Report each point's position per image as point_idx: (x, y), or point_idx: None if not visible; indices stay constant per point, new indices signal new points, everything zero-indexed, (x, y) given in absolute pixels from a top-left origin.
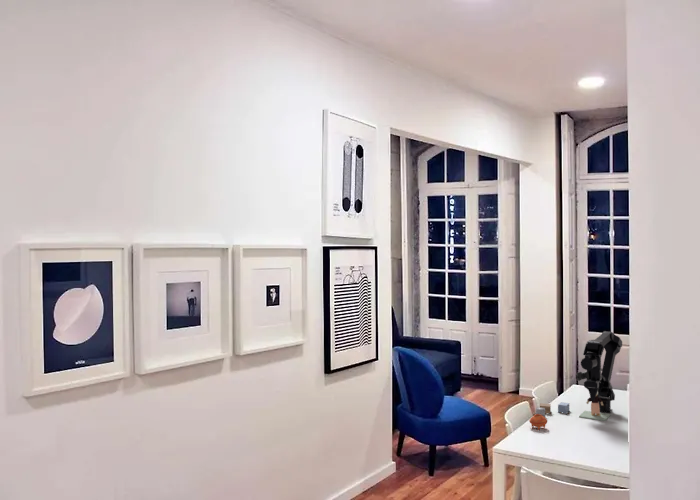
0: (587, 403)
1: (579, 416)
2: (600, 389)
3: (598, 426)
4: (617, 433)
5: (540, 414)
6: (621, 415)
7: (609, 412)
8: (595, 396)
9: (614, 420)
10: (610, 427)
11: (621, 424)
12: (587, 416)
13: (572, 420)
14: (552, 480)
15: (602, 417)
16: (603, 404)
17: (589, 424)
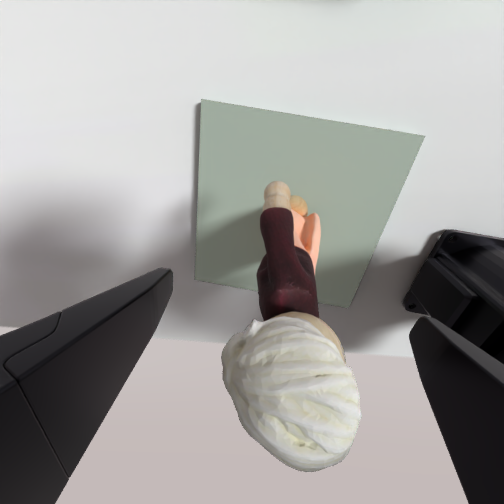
0: (264, 195)
1: (201, 104)
2: (465, 487)
3: (63, 241)
4: (19, 313)
5: None
6: (362, 349)
7: (403, 305)
8: (138, 353)
9: (237, 315)
10: (90, 293)
11: (176, 336)
12: (222, 172)
13: (76, 49)
14: None
15: (243, 267)
16: (445, 311)
17: (65, 192)
